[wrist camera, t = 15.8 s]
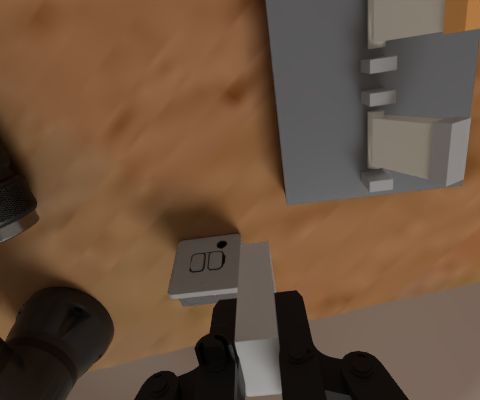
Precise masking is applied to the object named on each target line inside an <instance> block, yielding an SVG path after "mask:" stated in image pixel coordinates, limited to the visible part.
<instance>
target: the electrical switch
mask: <svg viewBox="0 0 480 400" xmlns="http://www.w3.org/2000/svg"><path fill="white" fill-rule="evenodd" d="M240 245H242V238H241V236H240V235H239V234H229V235H221V236H214V237H206V238H199V239H191V240H183V241H180V242H179V243H178V245H177V250H176V255H175V260H174V265H173V269H172V274H171V279H170V283H169V288H168V294H169V296H170V298H171V299H179V300H180V301H181V303H182V305H183V306H193V305H202V304H212V303H217V302H218V301H219V300H223V299H232V298H237V292H238V275H239V259H240ZM214 295H215V296H216V297H215V296H214ZM201 297H202V298H201ZM199 299H200V300H199Z"/></svg>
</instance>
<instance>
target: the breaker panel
mask: <svg viewBox="0 0 480 400" xmlns="http://www.w3.org/2000/svg"><path fill="white" fill-rule="evenodd" d="M265 9H266V18H267V28H268V37H269V47H270V56H271V66H272V75H273V85H274V94H275V104H276V113H277V123H278V132H279V142H280V151H281V161H282V170H283V180H284V189H285V197H286V202H287V205H294V204H303V203H312V202H321V201H330V200H339V199H348V198H357V197H366V196H375V195H383V194H392V193H401V192H410V191H419V190H428V189H437V188H446V187H444V186H440V185H436V184H432V183H428V182H429V179H425V178H421V177H417V176H413V175H408V174H404V173H400V172H396V171H392V170H388V169H384V168H380V169H370V168H368V111H372V110H384V115H399V116H412V117H426V118H440V119H445V118H448V117H452V116H453V117H468V118H470V113H471V105H472V97H473V88H474V80H475V72H476V63H477V55H478V47H479V38H480V29H474V30H468V31H462V32H456V33H449V34H443V32H437V33H431V34H425V35H419V36H412V37H406V38H400V39H394V40H388V41H386V47H380V48H374V49H368V0H265ZM455 186H462V180H461V181H459V182H456V183H454V184H452V185H449V186H447V187H455Z"/></svg>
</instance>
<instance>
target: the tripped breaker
mask: <svg viewBox="0 0 480 400" xmlns="http://www.w3.org/2000/svg"><path fill="white" fill-rule="evenodd" d="M474 29H480V0H368V49H374V48H380V47H386V41H388V40H394V39H400V38H406V37H412V36H419V35H425V34H431V33H437V32H443V34H449V33H456V32H462V31H468V30H474Z"/></svg>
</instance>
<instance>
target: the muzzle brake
mask: <svg viewBox="0 0 480 400" xmlns="http://www.w3.org/2000/svg"><path fill="white" fill-rule="evenodd" d="M10 163H11V161H10V159H9V157H8V155H7V154H6V152H5V150H4V148H3V147H2V145H1V143H0V243H2V242H4V241H6V240H9V239H11V238H13V237H15V236H17V235H19V234H20V233H22V232H24V231H26V230H27V229H29V228H30V227H32V226H33V225H34V224H36V223H37V222H38V221H39V216H38V214H37V213H36V211H35V209H36V207H37V200H36V199H35V197H34V195H33V193H32V192H31V190H30V188H29V186H28V185H27V183H26V181H25V180H24V178H23V177H20V175H19V174H14V172H13V170H12V168H11V167H10Z"/></svg>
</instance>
